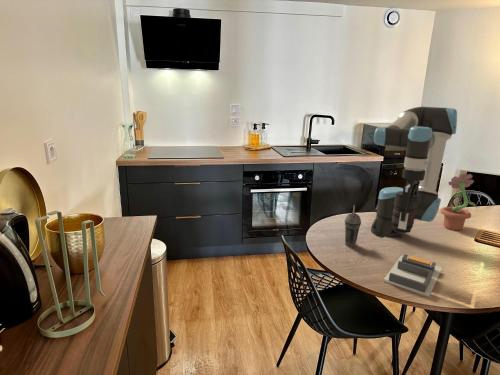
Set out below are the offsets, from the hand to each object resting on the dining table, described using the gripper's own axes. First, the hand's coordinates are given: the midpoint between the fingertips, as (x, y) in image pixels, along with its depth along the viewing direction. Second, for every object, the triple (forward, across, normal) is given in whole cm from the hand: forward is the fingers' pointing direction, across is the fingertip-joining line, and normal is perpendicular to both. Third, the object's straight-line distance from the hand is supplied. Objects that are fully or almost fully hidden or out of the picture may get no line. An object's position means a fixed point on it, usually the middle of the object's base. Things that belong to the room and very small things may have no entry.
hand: (405, 225), depth 135 cm
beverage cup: (+19, +8, +24) cm, 32 cm away
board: (+19, -1, -6) cm, 20 cm away
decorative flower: (+18, +63, -10) cm, 66 cm away
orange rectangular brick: (+18, +6, -6) cm, 20 cm away
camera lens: (+2, 0, +1) cm, 3 cm away
